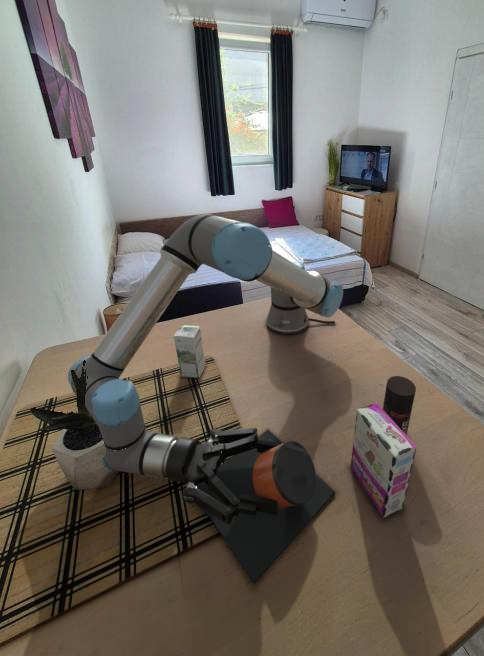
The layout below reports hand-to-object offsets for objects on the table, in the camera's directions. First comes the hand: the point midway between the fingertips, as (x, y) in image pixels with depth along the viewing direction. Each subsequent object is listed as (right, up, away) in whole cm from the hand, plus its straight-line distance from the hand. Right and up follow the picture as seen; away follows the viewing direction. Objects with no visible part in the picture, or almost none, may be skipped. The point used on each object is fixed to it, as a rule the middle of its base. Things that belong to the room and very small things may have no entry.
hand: (283, 477), depth 61 cm
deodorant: (+25, 0, +15) cm, 29 cm away
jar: (0, +1, -1) cm, 1 cm away
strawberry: (-54, +14, +47) cm, 73 cm away
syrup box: (-27, +9, +35) cm, 45 cm away
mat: (-4, -5, +3) cm, 7 cm away
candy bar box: (+18, -4, +4) cm, 19 cm away
